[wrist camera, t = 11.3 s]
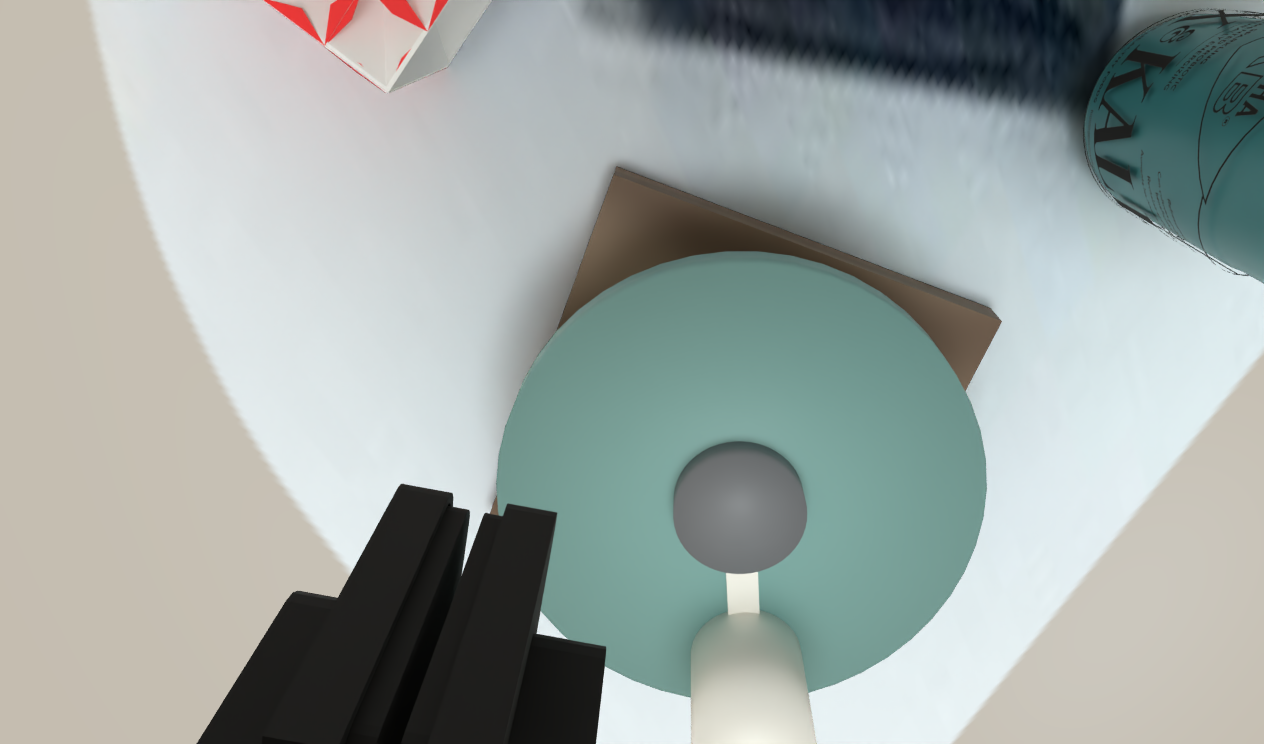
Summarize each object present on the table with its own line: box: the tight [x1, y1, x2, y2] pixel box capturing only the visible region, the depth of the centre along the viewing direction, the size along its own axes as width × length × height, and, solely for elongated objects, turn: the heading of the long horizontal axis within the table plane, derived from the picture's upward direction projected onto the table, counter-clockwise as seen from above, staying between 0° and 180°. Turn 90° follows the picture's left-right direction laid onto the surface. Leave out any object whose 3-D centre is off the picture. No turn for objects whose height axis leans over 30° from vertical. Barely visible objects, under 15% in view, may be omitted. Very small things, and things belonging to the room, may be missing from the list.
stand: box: [490, 166, 1002, 515], centre depth 37 cm, size 14×14×5 cm
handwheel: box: [496, 251, 987, 744], centre depth 32 cm, size 15×15×6 cm
